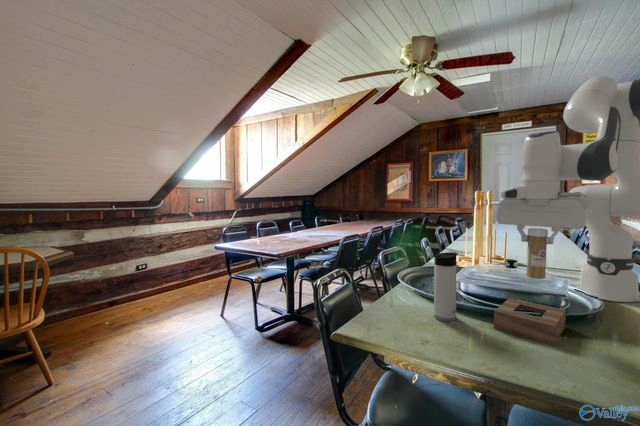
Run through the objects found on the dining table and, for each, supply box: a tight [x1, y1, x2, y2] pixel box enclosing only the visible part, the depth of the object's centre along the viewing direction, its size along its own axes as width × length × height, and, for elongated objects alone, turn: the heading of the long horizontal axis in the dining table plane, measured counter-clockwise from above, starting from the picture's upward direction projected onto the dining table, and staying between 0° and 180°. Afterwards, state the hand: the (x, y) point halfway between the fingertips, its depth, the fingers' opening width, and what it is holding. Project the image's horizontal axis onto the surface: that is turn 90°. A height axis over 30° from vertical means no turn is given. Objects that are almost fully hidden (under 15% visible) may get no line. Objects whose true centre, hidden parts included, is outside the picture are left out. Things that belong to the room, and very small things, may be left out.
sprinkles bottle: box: [525, 227, 549, 280], centre depth 88 cm, size 5×5×13 cm
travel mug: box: [433, 252, 459, 322], centre depth 97 cm, size 6×7×20 cm
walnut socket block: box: [493, 298, 567, 346], centre depth 89 cm, size 14×14×5 cm
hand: (537, 242), depth 87 cm, fingers closed on sprinkles bottle, 4 cm apart
